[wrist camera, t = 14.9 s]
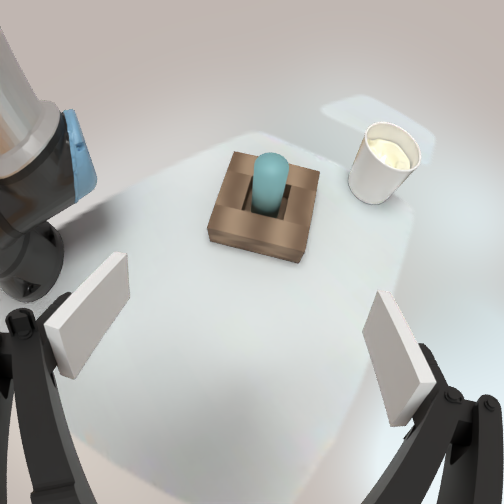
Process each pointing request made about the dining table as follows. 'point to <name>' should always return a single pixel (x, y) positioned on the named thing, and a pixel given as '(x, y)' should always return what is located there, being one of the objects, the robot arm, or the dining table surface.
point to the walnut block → (258, 226)
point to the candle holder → (383, 162)
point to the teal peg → (268, 184)
